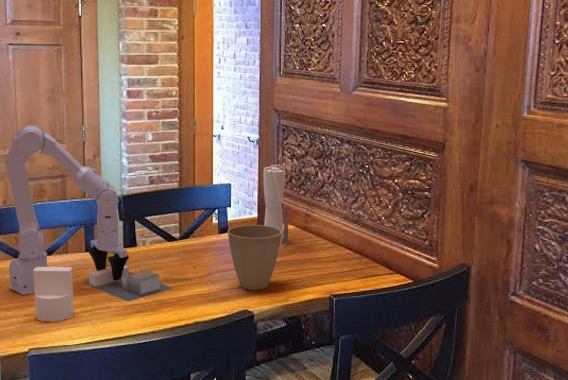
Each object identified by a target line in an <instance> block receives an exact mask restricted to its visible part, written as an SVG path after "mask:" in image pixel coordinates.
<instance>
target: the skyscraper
mask: <svg viewBox="0 0 568 380" xmlns="http://www.w3.org/2000/svg"><path fill="white" fill-rule="evenodd" d="M280 168H281V169H282V170H281V169H280ZM285 183H286V169H285V168H284V166H282V165H280V164H271V165H270V166H267V167H264V168H263V194H264V203H265V204H264V205H265V210H264V211H265V212H264V224H263V225H264V226H271V227H275V228H278V229H280V230H281V231H282V235H281V241H280V244H281V243H282V244H283V245H284V244H287V243H288V242H289V219H288V207H287V206H286V207H285V212H284V215H285V216H283V208H282V203H283V199H284V194H285ZM283 217H284V220H283ZM283 223H284V224H283ZM288 244H289V243H288ZM288 244H287V245H288ZM287 245H284V248H285V247H286V246H287Z"/></svg>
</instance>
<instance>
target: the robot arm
mask: <svg viewBox="0 0 568 380" xmlns="http://www.w3.org/2000/svg"><path fill="white" fill-rule="evenodd" d="M15 135H16V136H15V137H14V140H13V142H12V144H11V146H10V148H9V150H8V152H7V154H6V157H5V159H4V163H5V167H6V171H7V172H6V173H7V175H8V181H9V185H10V191H11V194H12V200H13V203H14V209H15V212H16V213H15V214H16V217H17V223H18V230H19V236H20V243H19V247H18V250H19V253H18V257H17V258H16V259H13V260H11V261H10V262H9V265H8V267H9V268H8V271H9V286H8V288H9V289H10V290H13V292H17V293H19V294H21V295H23V296H25V295H29V294H31V293H35V292H34V272H33V270H34V269H35V268H36V267H48V253H47V252H46V251H45V242H46V238H45V234H44V232H43V231H42V230H41V229H40V226H39V223H38V220H37V216H36V212H35V207H34V202H33V196H32V192H31V188H30V187H31V186H30V183H29V178H28V172H27V169H26V163H27V162H28V160H29V159H31V157H32V156H33V155H35V154H36V153H38V152H39V151H40V155H44V156H51V157H52V158H53V159H55V160H56V161H57V162H58V163H59V164H61V165H62V166H63V167H64V168H65V169H66V170H67V171H69V172H70V174H72V175H73V181H74V184H76V185H77V186H78V187H79V188H80V189H81V190H82V191H83V192H84V193H86V194H87V196H89V198H92V199H94V200H95V203H96V205H97V213H96V232H97V239H94V240H93V239H91V240H90V248H91V249H90V250H88V254H89V255H90V257H91V259H92V260H93V263H94V266H95V270H96V271H99V270H103V269H107V266H106V259H107V254H108V252H109V253H112V254H114V256H110V257H108V260H109V262H110V264H111V266H110V268H112V275H113V280H114V281H116V280H120V279H121V277H122V273H123V269H124V266H126V263H127V262H128V260H129V258H130V255H128V249H126V248H124V247H123V246H122V245H123V243H122V241H121V242H120V241H119V237H120V236H119V213H118V205H119V201H120V200H119V196H118V194H117V191H116V189H115V188H114V186H113V185H111V184H110V182H109V181H105V180H104V179H103V178H102V177H101V176H100V175H99V174H98V170H97V169H96V168H95V167H94V168H91V167H90V166H83V165H81V164H80V163H79V162H78V160H76V159H75V158H74V156H72V155H71V154H70V153H69V152H68V151H67V149H65V148H64V147H63V146H62V144H60V143H59V142H58V141H57V140H56V139H55V138H54V137H52V136H51V135H50V134H49V133H48V132H44V130H43V129H42V128H41V127H40V126H38V125H35V124H28V125H26V126H24V127H23V128H22V129H20V131H19V132H18V133H17V134H15Z"/></svg>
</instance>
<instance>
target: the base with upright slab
mask: <svg viewBox="0 0 568 380" xmlns="http://www.w3.org/2000/svg"><path fill="white" fill-rule="evenodd" d="M33 272H34V292H33V293H34V310H35V319H36V318H37V319H38V320H37V319H36V320H37V321H39V320H41V321H40V322H43V321H50V322H49V323H52V322H51V321H58V322H61V321H60V320H63V321H65V320H64V319H67V318H69V319H70V317H71V316H72V315H73V316H74V309H75V308H74V289H73V268H72V267H69V266H65V267H64V266H56V267H55V266H47V267H36V268H35V269H34V270H33ZM73 316H72V317H73ZM72 317H71V318H72ZM67 320H68V319H67Z"/></svg>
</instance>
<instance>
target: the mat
mask: <svg viewBox="0 0 568 380" xmlns="http://www.w3.org/2000/svg"><path fill="white" fill-rule="evenodd" d="M128 273H129V276H130V275H134V274H135V273H133V272H131V271H129V270H128ZM82 284H85V285H88V286H90V287H92V288H95V289H97V290H99V291H101V292H104V293H106V294H108V295H111V296H114V297H117V298H119V299H121V300H124V301H127V302H131V301H134V300H138V299H141V298H145V297H148V296H152V295H155V294H158V293H162V292H165V291H168V290H172V289H173V287H171V286H169V285H166V284H163V283H160V290H159V291H156V292H153V293H149V294H146V295H142V296H139V295H137V294H134V293H132V292H130V291H127V290H122V280H119V281H115V282H111V283H108V284H104V285H100V286H96V287H95V286H93V285H90V284H89V280H87V281H83V282H82Z"/></svg>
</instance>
